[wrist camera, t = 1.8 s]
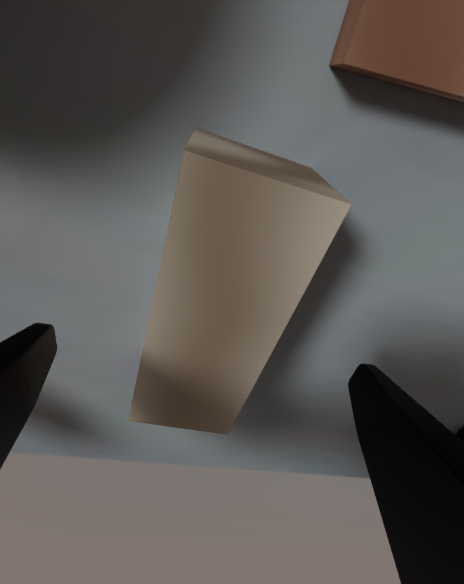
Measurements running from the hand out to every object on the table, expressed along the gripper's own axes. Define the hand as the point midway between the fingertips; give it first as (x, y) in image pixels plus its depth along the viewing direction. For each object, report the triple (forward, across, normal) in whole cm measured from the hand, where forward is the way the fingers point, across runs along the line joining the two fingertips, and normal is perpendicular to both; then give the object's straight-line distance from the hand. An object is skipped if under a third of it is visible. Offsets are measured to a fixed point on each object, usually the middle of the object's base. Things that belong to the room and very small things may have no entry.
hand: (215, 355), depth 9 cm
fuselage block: (+5, 0, 0) cm, 5 cm away
